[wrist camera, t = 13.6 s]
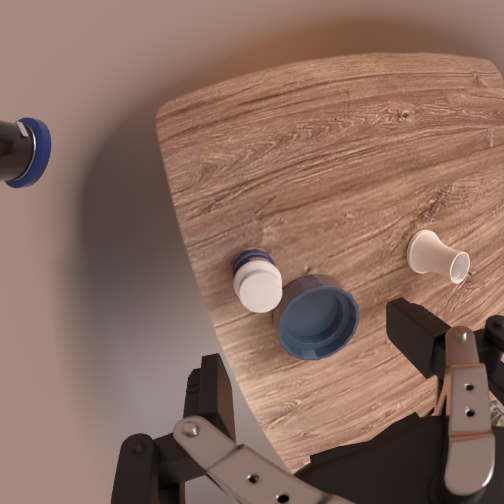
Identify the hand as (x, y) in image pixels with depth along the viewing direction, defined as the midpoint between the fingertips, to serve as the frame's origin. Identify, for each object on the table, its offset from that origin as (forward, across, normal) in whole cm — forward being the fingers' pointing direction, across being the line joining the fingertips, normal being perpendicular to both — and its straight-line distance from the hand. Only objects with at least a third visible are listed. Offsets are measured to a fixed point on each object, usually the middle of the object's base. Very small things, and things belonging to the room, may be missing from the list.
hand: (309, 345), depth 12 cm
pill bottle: (+27, +1, +5) cm, 28 cm away
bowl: (+27, -6, +14) cm, 31 cm away
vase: (+27, -28, +10) cm, 40 cm away
